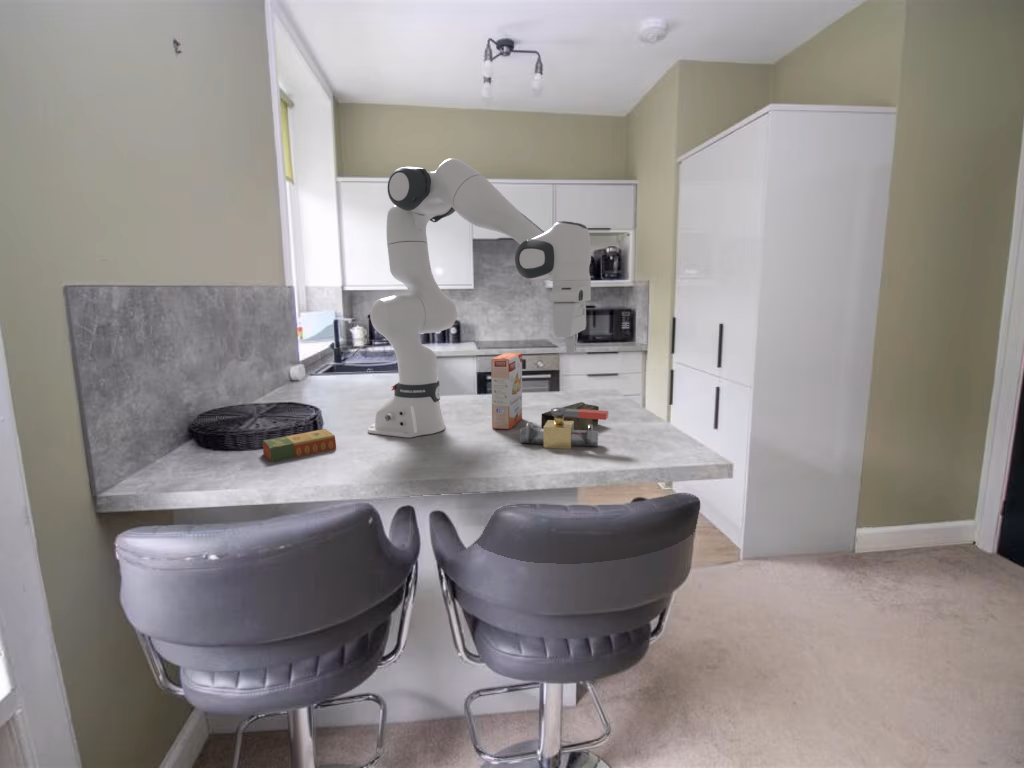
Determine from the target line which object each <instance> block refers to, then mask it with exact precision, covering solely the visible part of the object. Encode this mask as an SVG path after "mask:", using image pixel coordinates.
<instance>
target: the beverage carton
mask: <svg viewBox="0 0 1024 768" xmlns="http://www.w3.org/2000/svg"><path fill="white" fill-rule="evenodd" d="M561 408H566V409H579V410H581V409H587V410H600V407H599V406H597V405H595V404H588V403H585V402H582V401H579V402H576V403H573V404H570V405H566V406H562V407H561ZM548 420H554V416H552V415H551V410H549V411H547V412H544V413H541V425H540V426H541V428H542V429H543V427H544V425H545V424H546V422H547V421H548ZM599 420H600V419H586V418H578V417H567V416H564V421H574V430H585V429H586V430H587V428H588V424H591V425H593V427H595V426H597V425H596V424H599ZM594 425H595V426H594Z"/></svg>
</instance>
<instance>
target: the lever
mask: <svg viewBox="0 0 1024 768" xmlns="http://www.w3.org/2000/svg"><path fill="white" fill-rule="evenodd" d="M550 411H551V415H552V416H557V417H561V416H567V417H578V418H586V419H599V420H602V421H607V419H608V418H609V410H601V409H599V410H587V409H581V410H579V409H566V408H562V407H553V408H551V409H550Z"/></svg>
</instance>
